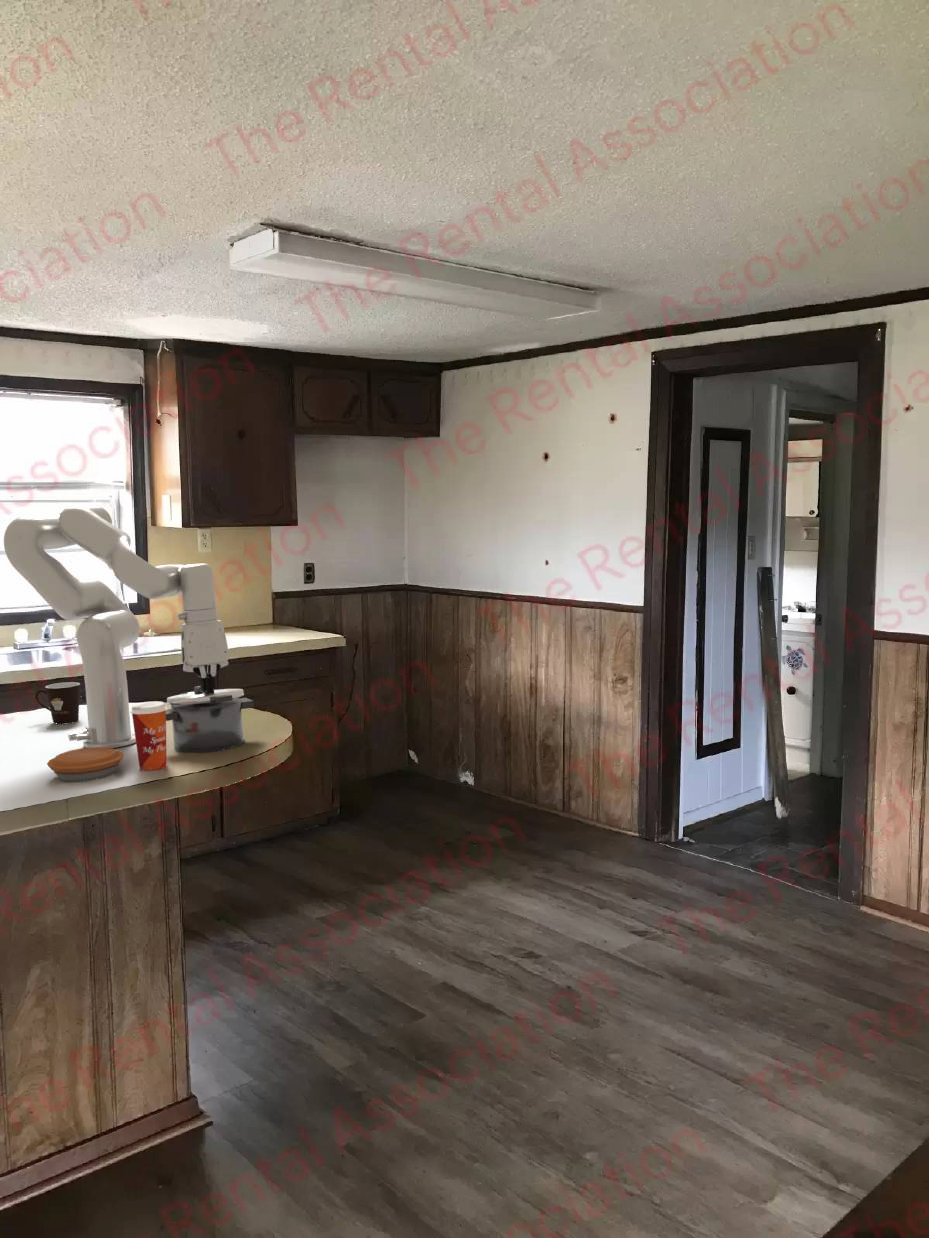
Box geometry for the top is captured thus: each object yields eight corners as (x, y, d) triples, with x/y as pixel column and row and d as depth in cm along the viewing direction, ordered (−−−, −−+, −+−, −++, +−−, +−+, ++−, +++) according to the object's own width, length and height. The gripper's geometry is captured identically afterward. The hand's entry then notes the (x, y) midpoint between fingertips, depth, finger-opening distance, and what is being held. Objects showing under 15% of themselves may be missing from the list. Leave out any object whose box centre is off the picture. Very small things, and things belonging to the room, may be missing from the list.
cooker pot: (175, 758, 228) (171, 713, 227) (149, 743, 243) (146, 701, 242) (265, 742, 240) (262, 699, 239) (235, 729, 255) (232, 688, 254)
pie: (134, 775, 215) (133, 752, 215) (59, 789, 206) (56, 765, 206) (113, 761, 228) (111, 740, 227) (40, 774, 219) (38, 752, 218)
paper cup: (151, 773, 216) (146, 709, 214) (127, 769, 220) (122, 706, 218) (179, 764, 222) (174, 702, 221) (155, 760, 226) (150, 699, 225)
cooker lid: (186, 708, 224) (184, 694, 224) (157, 703, 242) (155, 690, 242) (260, 697, 234) (259, 684, 234) (227, 693, 252) (226, 681, 252)
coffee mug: (89, 719, 274) (86, 683, 273) (62, 726, 267) (58, 689, 266) (62, 716, 281) (59, 680, 280) (35, 722, 273) (31, 686, 272)
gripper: (174, 621, 230) (183, 700, 232) (236, 613, 238) (244, 689, 240) (164, 619, 236) (172, 696, 238) (225, 611, 244) (232, 686, 246)
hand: (208, 693), depth 239 cm, fingers closed
